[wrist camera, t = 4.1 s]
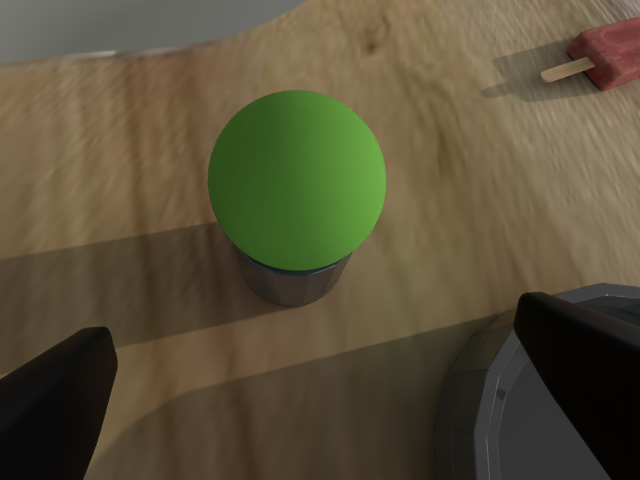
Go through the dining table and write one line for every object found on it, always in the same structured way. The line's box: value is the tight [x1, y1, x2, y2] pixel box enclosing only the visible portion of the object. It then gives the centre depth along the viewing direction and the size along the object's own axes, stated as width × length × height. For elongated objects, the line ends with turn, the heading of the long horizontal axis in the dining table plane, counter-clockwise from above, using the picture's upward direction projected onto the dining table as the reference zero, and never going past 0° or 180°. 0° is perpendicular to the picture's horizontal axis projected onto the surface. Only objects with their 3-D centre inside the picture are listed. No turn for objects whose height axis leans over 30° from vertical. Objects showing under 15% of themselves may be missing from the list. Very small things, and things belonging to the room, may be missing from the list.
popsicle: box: [539, 17, 640, 91], centre depth 29 cm, size 4×2×15 cm
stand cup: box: [232, 242, 353, 307], centre depth 19 cm, size 6×6×6 cm
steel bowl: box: [434, 283, 640, 480], centre depth 17 cm, size 16×16×4 cm
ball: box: [208, 90, 386, 271], centre depth 14 cm, size 6×6×6 cm
